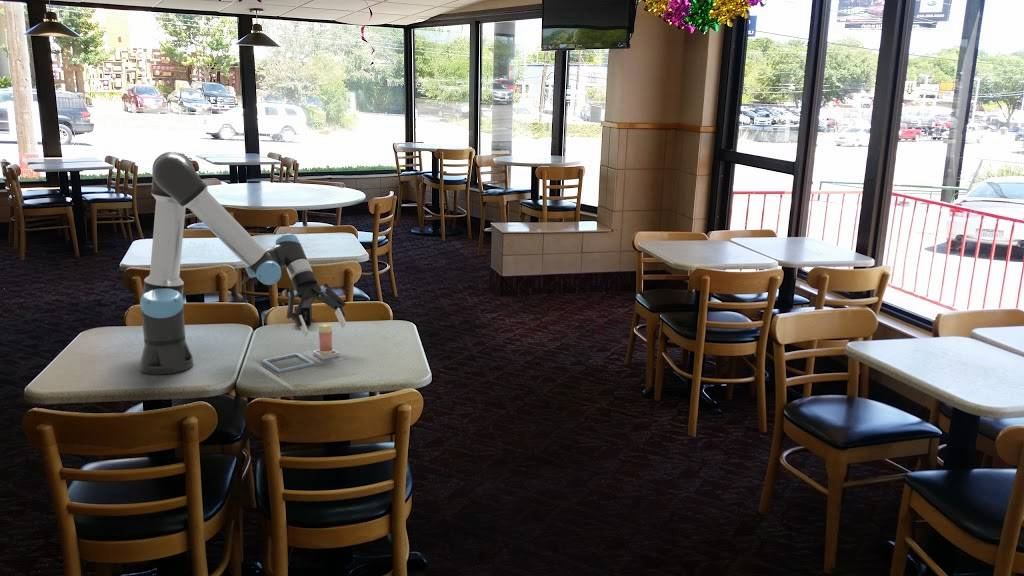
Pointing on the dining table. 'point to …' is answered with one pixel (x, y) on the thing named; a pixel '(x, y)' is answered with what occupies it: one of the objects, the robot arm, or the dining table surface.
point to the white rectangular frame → (326, 356)
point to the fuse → (325, 339)
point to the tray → (309, 363)
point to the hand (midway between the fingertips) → (325, 330)
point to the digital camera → (306, 312)
